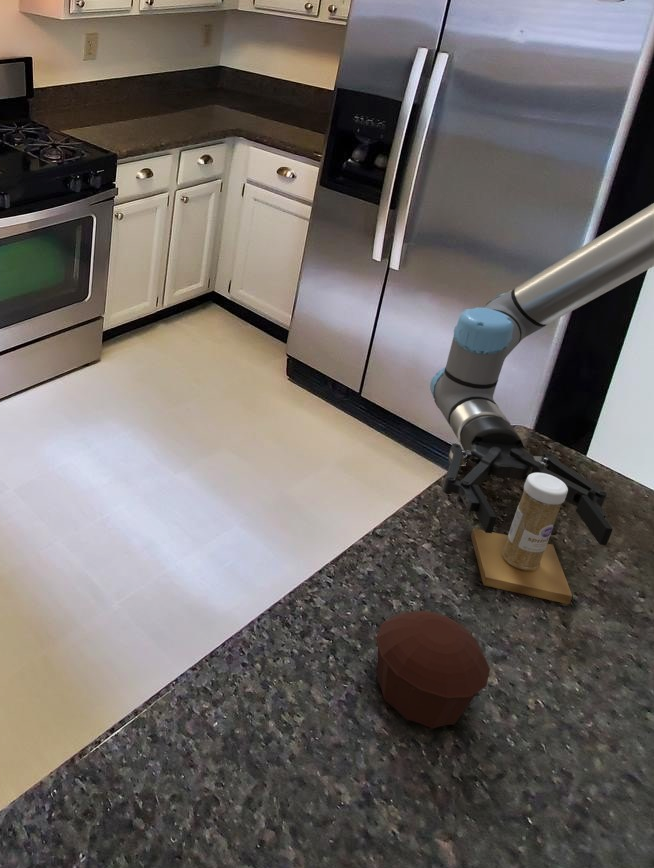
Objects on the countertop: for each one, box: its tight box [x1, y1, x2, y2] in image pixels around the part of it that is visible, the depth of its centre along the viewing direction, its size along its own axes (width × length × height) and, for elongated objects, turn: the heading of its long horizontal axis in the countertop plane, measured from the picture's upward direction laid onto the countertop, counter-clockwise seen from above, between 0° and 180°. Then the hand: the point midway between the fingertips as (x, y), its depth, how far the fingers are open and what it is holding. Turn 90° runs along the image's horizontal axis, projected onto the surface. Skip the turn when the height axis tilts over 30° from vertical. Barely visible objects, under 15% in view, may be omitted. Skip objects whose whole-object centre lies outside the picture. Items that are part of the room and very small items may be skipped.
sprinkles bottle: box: [502, 472, 568, 571], centre depth 107 cm, size 5×5×14 cm
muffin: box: [375, 610, 491, 729], centre depth 91 cm, size 12×11×10 cm
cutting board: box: [470, 527, 573, 605], centre depth 110 cm, size 10×10×2 cm
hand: (548, 531), depth 103 cm, fingers open, 13 cm apart
